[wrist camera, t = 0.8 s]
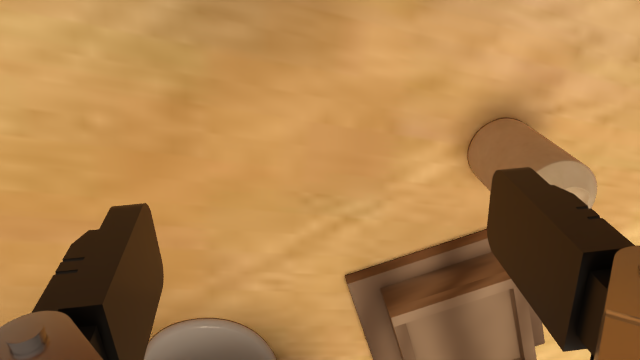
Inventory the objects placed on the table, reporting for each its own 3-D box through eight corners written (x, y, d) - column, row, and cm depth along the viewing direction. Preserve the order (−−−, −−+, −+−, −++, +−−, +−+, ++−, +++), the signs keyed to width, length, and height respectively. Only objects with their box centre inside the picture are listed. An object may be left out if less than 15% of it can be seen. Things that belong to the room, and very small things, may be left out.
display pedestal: (522, 217, 45) (552, 249, 40) (538, 334, 51) (566, 373, 47) (344, 275, 45) (356, 313, 41) (382, 385, 51) (395, 428, 47)
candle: (521, 183, 43) (593, 248, 34) (459, 179, 42) (517, 245, 34) (541, 119, 41) (624, 172, 32) (476, 114, 40) (542, 167, 31)
